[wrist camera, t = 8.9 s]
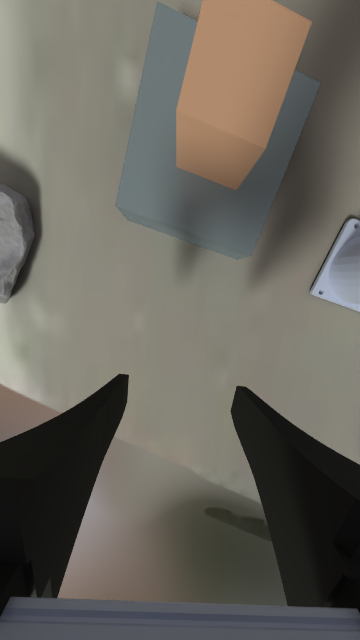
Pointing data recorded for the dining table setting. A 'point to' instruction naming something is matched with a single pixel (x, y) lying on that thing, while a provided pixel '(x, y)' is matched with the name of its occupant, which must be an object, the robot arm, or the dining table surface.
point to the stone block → (13, 237)
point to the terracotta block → (235, 86)
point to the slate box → (187, 188)
